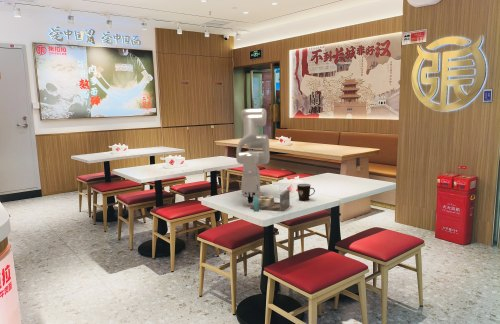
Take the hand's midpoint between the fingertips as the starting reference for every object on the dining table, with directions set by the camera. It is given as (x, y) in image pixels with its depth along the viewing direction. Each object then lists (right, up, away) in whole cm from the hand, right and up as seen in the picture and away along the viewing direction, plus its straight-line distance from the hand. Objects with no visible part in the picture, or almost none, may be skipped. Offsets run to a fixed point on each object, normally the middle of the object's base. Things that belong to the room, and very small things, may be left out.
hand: (250, 202), depth 236 cm
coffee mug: (+35, 0, +10) cm, 37 cm away
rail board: (+12, -2, -4) cm, 13 cm away
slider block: (+9, -1, -3) cm, 9 cm away
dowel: (+3, -4, -11) cm, 12 cm away
